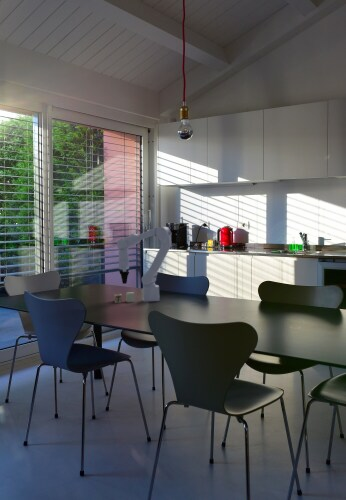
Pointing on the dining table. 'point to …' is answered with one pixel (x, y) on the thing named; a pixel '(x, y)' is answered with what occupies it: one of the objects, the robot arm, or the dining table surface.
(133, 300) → the sage block
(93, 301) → the dining table surface
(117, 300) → the maple block
